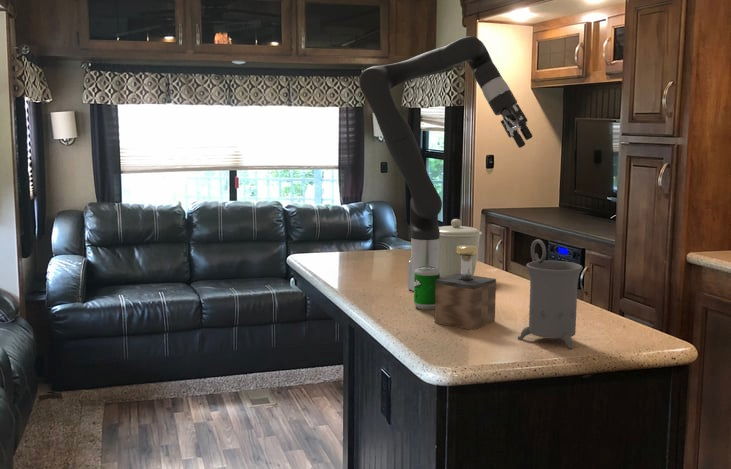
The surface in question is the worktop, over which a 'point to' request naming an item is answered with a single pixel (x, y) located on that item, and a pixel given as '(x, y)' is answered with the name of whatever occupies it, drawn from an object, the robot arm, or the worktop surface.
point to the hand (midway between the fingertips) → (526, 142)
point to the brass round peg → (466, 260)
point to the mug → (552, 297)
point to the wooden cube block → (465, 301)
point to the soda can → (425, 286)
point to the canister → (449, 243)
